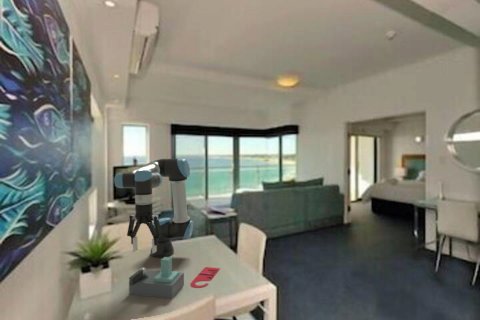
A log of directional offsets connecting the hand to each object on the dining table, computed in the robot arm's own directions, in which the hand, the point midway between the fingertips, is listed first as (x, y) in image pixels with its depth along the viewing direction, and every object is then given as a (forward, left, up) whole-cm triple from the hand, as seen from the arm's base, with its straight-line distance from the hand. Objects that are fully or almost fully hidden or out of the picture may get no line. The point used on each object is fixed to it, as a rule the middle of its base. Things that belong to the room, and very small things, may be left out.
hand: (144, 251), depth 130 cm
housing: (-9, +2, -22) cm, 23 cm away
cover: (-9, +7, -16) cm, 19 cm away
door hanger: (-26, +21, -22) cm, 39 cm away
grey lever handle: (-3, -5, -15) cm, 17 cm away
